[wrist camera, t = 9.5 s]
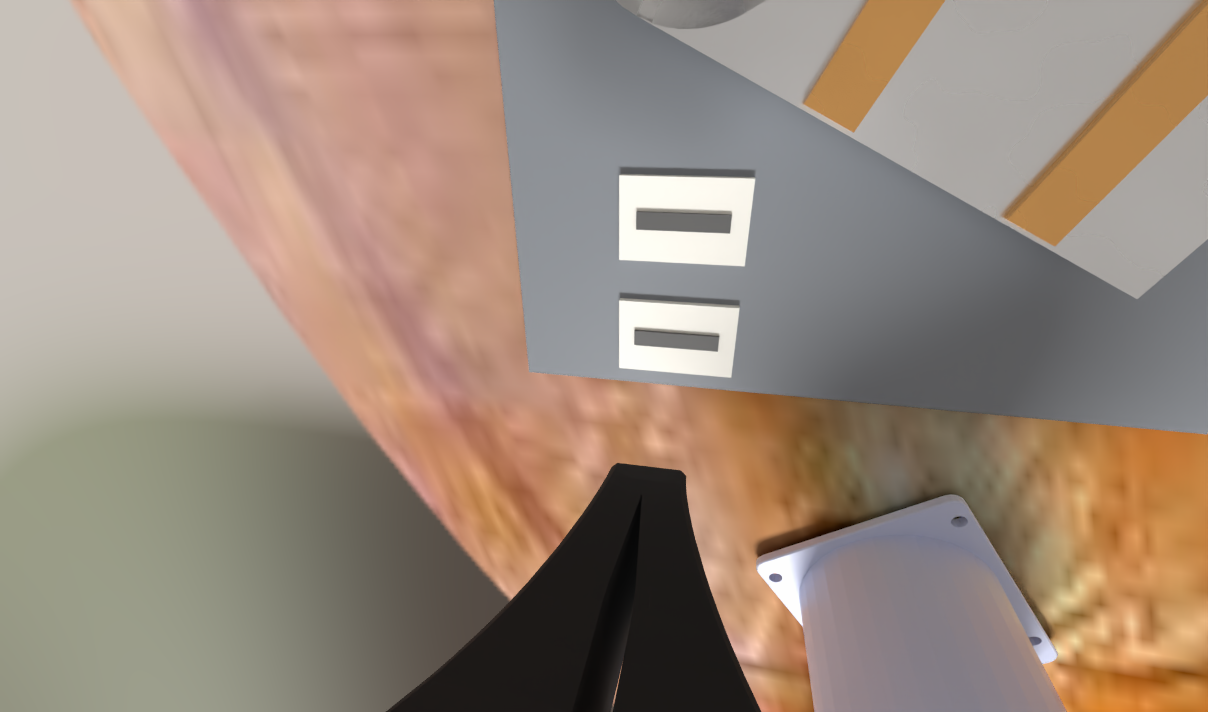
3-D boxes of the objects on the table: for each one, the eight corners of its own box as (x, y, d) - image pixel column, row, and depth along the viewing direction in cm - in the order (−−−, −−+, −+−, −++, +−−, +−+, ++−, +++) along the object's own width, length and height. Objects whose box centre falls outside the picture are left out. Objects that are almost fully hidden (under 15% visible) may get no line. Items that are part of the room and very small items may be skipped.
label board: (1606, -261, 9) (1727, -304, 8) (1181, 413, 16) (1215, 440, 15) (493, -160, 13) (471, -181, 11) (537, 358, 19) (526, 376, 18)
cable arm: (549, -35, 12) (521, -50, 11) (652, -347, 10) (637, -432, 8) (1094, 273, 13) (1149, 306, 11) (1321, 65, 11) (1437, 66, 9)
